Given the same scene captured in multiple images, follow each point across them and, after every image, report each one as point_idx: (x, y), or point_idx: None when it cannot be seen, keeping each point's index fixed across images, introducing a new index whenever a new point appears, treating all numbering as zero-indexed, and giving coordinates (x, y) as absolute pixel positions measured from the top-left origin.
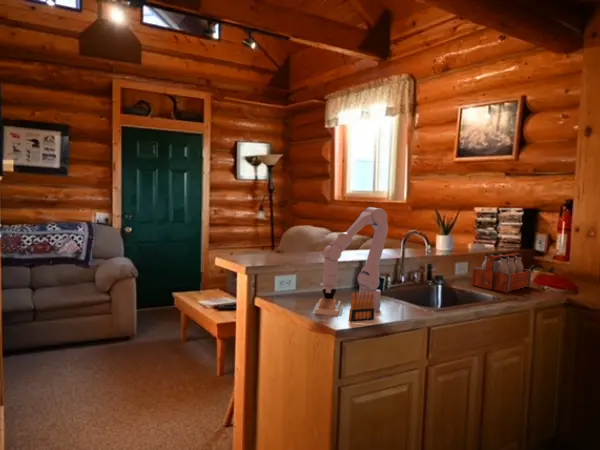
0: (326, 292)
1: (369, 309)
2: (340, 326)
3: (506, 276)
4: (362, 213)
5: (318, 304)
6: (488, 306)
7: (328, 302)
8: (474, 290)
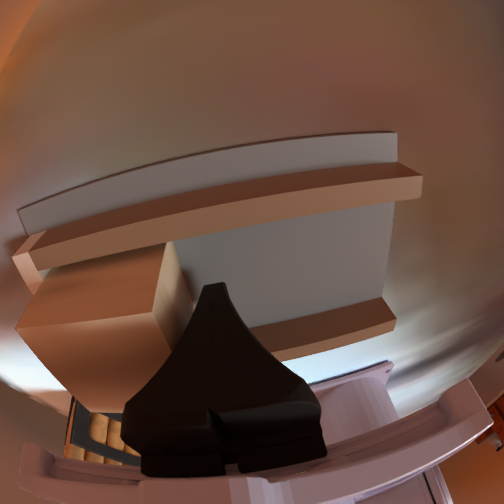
0: (28, 447)
1: None
2: (5, 368)
3: (477, 441)
4: None
5: (168, 225)
6: None
7: (61, 380)
8: (487, 405)
